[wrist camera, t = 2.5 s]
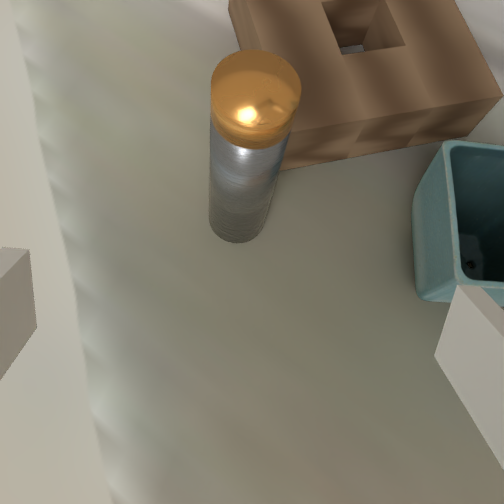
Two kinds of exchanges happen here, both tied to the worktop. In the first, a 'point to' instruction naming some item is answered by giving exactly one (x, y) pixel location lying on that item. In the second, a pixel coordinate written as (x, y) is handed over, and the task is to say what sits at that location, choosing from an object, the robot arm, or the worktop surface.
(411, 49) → the block
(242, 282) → the worktop surface
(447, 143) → the flower pot
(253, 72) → the metal pin
